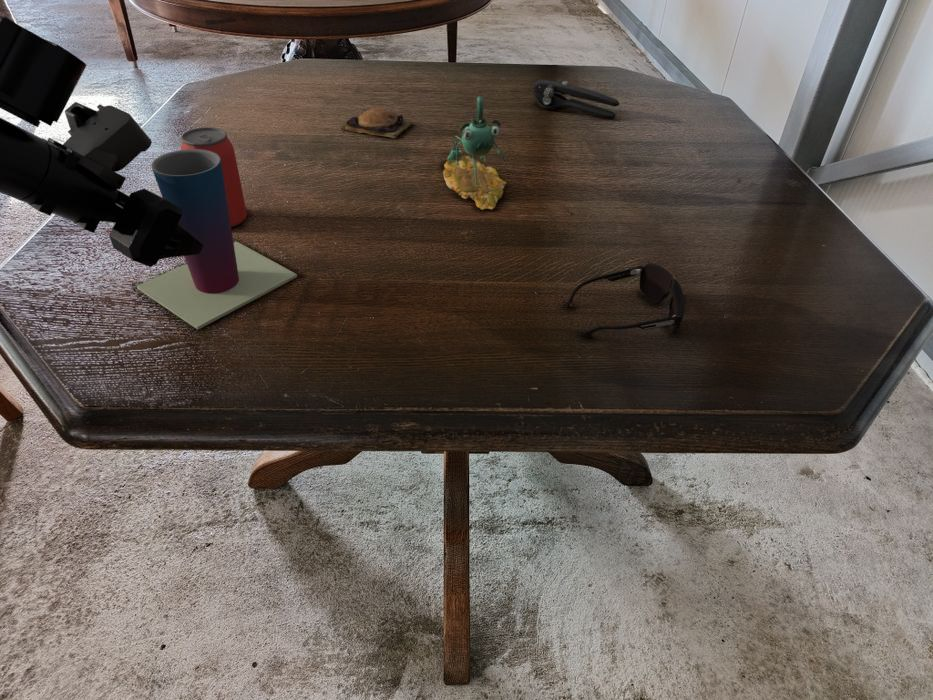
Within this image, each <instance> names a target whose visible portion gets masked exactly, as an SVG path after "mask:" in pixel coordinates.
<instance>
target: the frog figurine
mask: <svg viewBox="0 0 933 700" xmlns="http://www.w3.org/2000/svg"><path fill="white" fill-rule="evenodd" d="M491 124H492V126H489V125H488V120H487V119H486V117H484V98H483V97H482V96H481V95H480V96H477V97H476V115H475V119H474V118H473V117H471V118H470V123H469V122H465V123H463V124H462V125H461V126H460V128H459V132H460V133H461V132H462V135H461V138H460V137H459V136H458V135H455V136H454V141H453V145H452V148H451V149H450V150H449V153H448V155H447V156H446V157H447V159H446V162H445V163H444V164H443V166H444V170H443V172H442V174H443V179H444V181H445V184H446V186H447V188H448V189H450V190H451V191H455V193H457V194H458V196H460V197H461V198H462V199H465V200H467V199H469V198H470V199H472V201H474V202H475V205H476V207H477V208H479V209H480V210H482V211H483V210H494V209H495V208H496V206H497V203H498V201H499V200H500V199H502V196H503V194H504V189H505V186H506V185H507V181H504V180H503V179H502V178H500V177H499V173H498V171H497V170H496V169H495V168H494V167H492V166H486V165H485V164H484V163H486V161H487V157H486V155H487V154H489V153H490V152H491V150H493V149H492V148H494V147H496V149H497V154H498V156H501V157H502V159H503V162H506V160H507V159H506V156H505V155H503V153H502V151H501V150H500V148H499V147H498V145H497V143H496V142H495V137H497V136H498V135H499V134H500V127H502V123H501V122H500V120H498V119H493V120H491ZM457 139H458V140H459V143H458V141H457ZM461 144H462V148H458V147H459V146H460V145H461ZM463 149H464V151H465V153H466V154H468V155H463V156H462V153H463ZM477 157H480V160H482V159H483V160H484V163H481V162H480V160H477Z"/></svg>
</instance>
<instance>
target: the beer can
mask: <svg viewBox="0 0 933 700" xmlns="http://www.w3.org/2000/svg"><path fill="white" fill-rule="evenodd" d="M180 141H181V144H180V150H186V149H201V150H207V151H211V152H214V153H216V154H218V155H219V157H220V159H221V164H222V171H223V177H224V184H225V190H226V197H227V204H228V210H229V217H230V223H231V228H235V227H236V226H238V225H240V224H242V223H243V222H244V221H245V219H246V218H247V216H248V211H247V207H246V201H245V197H244V191H243V188H242V182H241V176H240V172H239V167H238V162H237V158H236V153H235V152H236V151H235V148H234V145H233V143H232V142H231V140H230V139H229V137H228V133H227V132H226V130H224V129H222V128H218V127H213V126H212V127H211V126H206V127H205V126H204V127H196V128H192V129H189V130H187V131H184V132H183V133H182V134H181V136H180Z"/></svg>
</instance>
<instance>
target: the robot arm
mask: <svg viewBox="0 0 933 700" xmlns="http://www.w3.org/2000/svg"><path fill="white" fill-rule="evenodd" d="M87 66H88V64H86V63H85V62H84V61H83V60H82V59H80V58H79V57H77V56H76V55H75V54H74V53H72V52H70V51H68V50H67V49H66V48H64V47H63V46H61V45H59V44H57V43H56V42H55V43H54V42H53V41H50V40H47V39H45V38H43V37H41V36H39V35H37V34H36V33H34V32H32V31H31V30H29V29H27V28H25V27H23V26H21V25H19V24H18V23H16V22H15V21H14V20H11V19H10V18H9V17H7V16H4V15H1V14H0V109H1V110H3V111H5V112H7V113H9V114H11V115H13V116H15V117H16V118H19V120H22V121H24V122H26V123H29V124H30V125H33V126H34V127H36V128H39V127H40V124H41V122H42V123H44V124H46V125H48V126H50V127H52V125H53V123H58V121H59V119H60V117H61V116H62V114H63V112H64V115H65V118H66V120H67V121H66V122H67V123H68V126H69V127H68V128H69V130H68V131H67V133H68V134H69V135H70V136H69V138H68V139H66V141H65V142H63V144H62V143H60V142H59V141H57V140H55V139H52V138H51V137H48V138H47V139H45V138H43V137H40V136H38V135H37V134H34V133H32V132H30V131H28V130H26V129H24V128H23V127H20V126H18V125H17V124H14V123H12V122H10V121H9V120H6V119H5V118H2V117H0V193H1V194H2V195H3V194H4V196H5V195H6V196H8V197H9V198H13V199H15V200H18V201H20V202H22V203H25V204H27V205H29V206H30V207H32V208H33V209H35V210H36V211H38V212H39V213H42V214H44V215H47V216H52V214H53V215H55V216H58V217H60V218H62V219H65V220H68V221H70V222H72V223H73V224H75V225H77V226H78V227H80V228H81V229H83V230H85V231H87V232H89V233H93V234H95V232H96V230H97V228H98V227H99V224H100V223H104V222H105V223H113V224H114V225H113V227H112V229H111V231H110V233H109V234H108V237H109V239H110V242H111V246H112V248H113V249H114V250H116V251H117V252H119V253H120V254H122V255H124V256H125V257H127V258H128V259H130V260H131V261H133V262H135V263H139V264H141V265H144V266H146V267H149V268H151V267H153V266H155V265H157V264H158V262H159V260H164V259H170V258H171V259H172V258H178V257H184V256H188V255H197V254H200V253H201V251H202V249H203V244H202V243H200V242H199V241H198V240H197V239H195V238H194V237H193V236H192V235H190V234H189V233H188V232H187V231H186V230H184V229H183V228H182V227H181V226H180V225H178V222H179V220H180V218H181V216H182V209H181V208H180V207H179V206H177V205H175V204H173V203H171V202H169V201H168V200H166V199H164V198H163V197H162V196H161V195H158V194H156V193H154V192H152V191H151V190H149V189H146V188H142V189H138V190H135V191H133V192H131V193H130V194H129V195H128V194H126V193H125V192H123V191H121V189H122V187H123V185H124V183H125V181H126V179H127V177H126V176H123V175H122V174H119V173H118V172H120V171H122V170H123V169H124V168H126V167H127V166H128V165H129V164H130V163H131V162H132V161H133V160H134V159H136V158H137V157H138V156H139V155H141V153H144V152H146V151H148V150H149V149H150V148H151V146H152V142H153V141H152V139H151V137H150V136H149V135H148V134H147V133H146V131H144V129H143V128H142V127H141V126H140V125H139V124H138V123H137V121H136V120H135V119H134V117H133V116H132V115H131V114H130V113H129V112H126V111H125V110H122V109H121V108H118V107H115V106H113V105H111V104H110V105H105V106H104V105H103V104H98V105H97V106H96V108H97V109H98V110H95V109H93V108H91V107H89V106H86V105H84V104H81V103H80V102H78V101H75V102H73V103H72V104H71V105H69V107H67V108H66V106H67V104H68V103H69V100H70V99H71V96H72V95H73V93H74V91H75V88H77V87H76V86H77V85H78V83H79V81H80V79H81V77H82V76H83V73H84V72H85V69H86V68H87Z"/></svg>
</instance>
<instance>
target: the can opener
mask: <svg viewBox="0 0 933 700" xmlns="http://www.w3.org/2000/svg"><path fill="white" fill-rule="evenodd" d="M564 95H569V96H570V97H573V98H570V99H567V97H566V96H564ZM533 97H534V99H535V101H536V102H537V104H538V105H539V106H540V107H542V108H543V109H545V110H555V109H560V108H568V109H569V108H570V109H573V110H577V111H580V112H582V113H585V114H587V115H589V116H590V115H591V116H593V117H597V118H602V119H610V120H612V119H614V118H616V116H617V115H616V114H615V112H614V111H612V110H610V109H607V108H603V107H601V106H597V105H594V104H591V103H587V102H584V101H581V100H577V99H574V98H578V99H582V100H586V101H589V102H594V103H600V104H602V105H607V106H611V107H618V106H620V101H619V100H618V99H617V98H613V97H611V96H609V95H607V94H603V93H600V92H598V91H594V90H592V89H588V88H585V87H582V86H579V85H573V84H571V85H570V83H569V81H567V80H566V81H565V80H564V81H562V82H560V81H555V80H554V81H553V80H549V79H548V80H547V79H538V80H536V82H535V83H534V84H533Z"/></svg>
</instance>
